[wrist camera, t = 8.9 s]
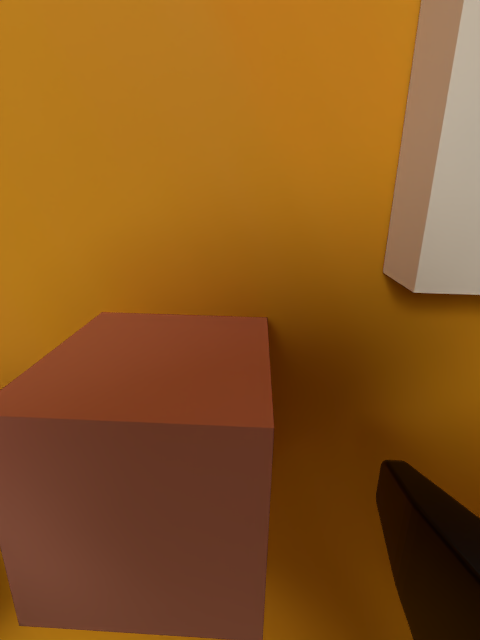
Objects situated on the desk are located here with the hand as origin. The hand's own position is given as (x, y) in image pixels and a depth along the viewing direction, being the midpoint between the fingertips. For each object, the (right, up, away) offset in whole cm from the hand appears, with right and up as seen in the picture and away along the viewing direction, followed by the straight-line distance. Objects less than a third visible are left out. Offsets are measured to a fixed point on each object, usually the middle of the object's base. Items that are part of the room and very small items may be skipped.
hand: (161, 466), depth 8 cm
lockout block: (0, +1, +3) cm, 3 cm away
